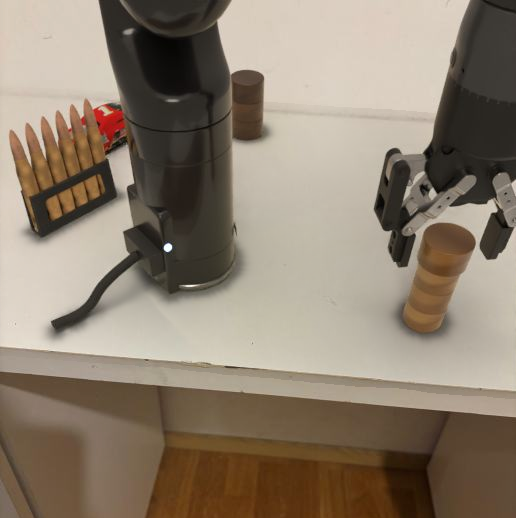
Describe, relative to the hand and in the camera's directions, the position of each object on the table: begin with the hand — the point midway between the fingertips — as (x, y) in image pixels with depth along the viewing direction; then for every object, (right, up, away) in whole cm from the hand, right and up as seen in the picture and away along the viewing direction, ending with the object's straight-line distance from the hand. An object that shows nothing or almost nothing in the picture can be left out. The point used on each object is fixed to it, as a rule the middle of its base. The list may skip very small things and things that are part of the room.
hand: (443, 257), depth 51 cm
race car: (-37, +19, +26) cm, 49 cm away
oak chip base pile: (0, -5, +6) cm, 8 cm away
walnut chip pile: (-18, +22, +28) cm, 40 cm away
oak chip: (0, 0, 0) cm, 0 cm away
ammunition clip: (-37, +7, +16) cm, 41 cm away
